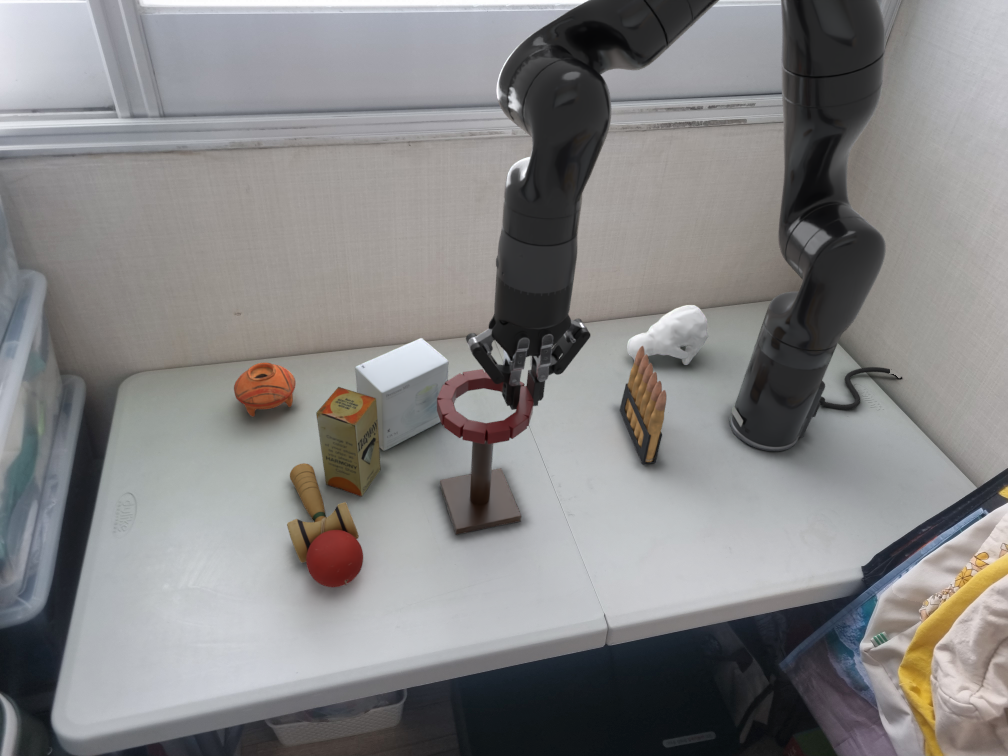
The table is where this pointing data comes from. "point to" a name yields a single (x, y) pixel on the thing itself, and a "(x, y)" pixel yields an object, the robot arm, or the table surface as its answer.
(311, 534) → the kendama
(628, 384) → the ammunition clip
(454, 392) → the ring
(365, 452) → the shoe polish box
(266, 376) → the pot
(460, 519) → the brown peg stand
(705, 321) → the white lumpy piece
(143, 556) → the table surface
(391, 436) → the cosmetics box
